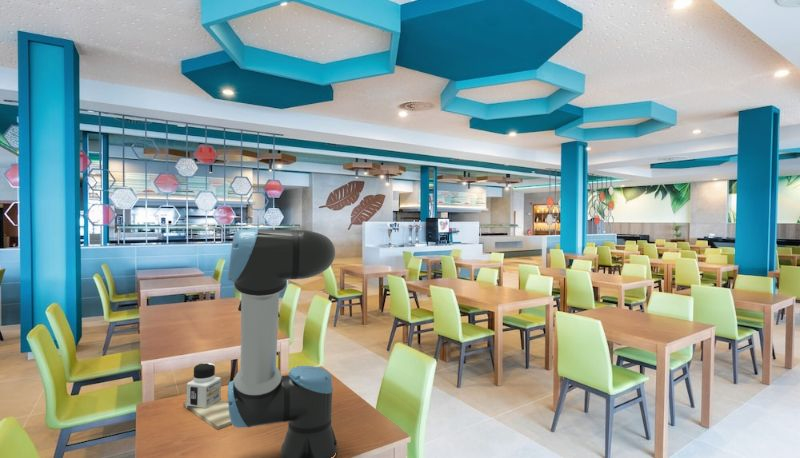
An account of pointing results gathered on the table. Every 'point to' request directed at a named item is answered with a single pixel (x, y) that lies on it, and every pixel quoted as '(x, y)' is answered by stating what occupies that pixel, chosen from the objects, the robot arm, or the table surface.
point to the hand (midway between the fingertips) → (257, 335)
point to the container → (204, 386)
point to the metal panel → (213, 414)
